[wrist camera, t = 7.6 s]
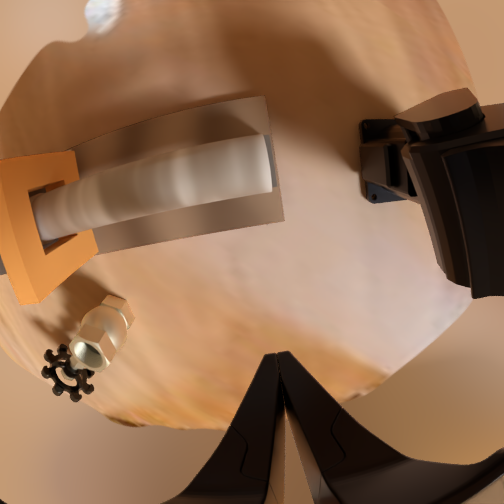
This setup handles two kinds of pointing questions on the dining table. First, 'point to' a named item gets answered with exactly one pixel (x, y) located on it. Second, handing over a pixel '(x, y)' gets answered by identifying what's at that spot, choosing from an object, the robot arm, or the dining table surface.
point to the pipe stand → (168, 179)
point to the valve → (90, 346)
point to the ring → (25, 231)
